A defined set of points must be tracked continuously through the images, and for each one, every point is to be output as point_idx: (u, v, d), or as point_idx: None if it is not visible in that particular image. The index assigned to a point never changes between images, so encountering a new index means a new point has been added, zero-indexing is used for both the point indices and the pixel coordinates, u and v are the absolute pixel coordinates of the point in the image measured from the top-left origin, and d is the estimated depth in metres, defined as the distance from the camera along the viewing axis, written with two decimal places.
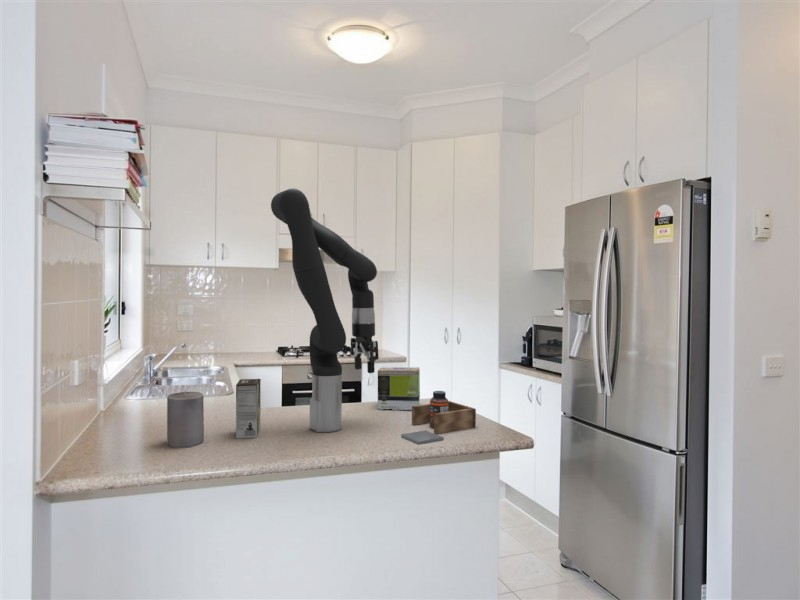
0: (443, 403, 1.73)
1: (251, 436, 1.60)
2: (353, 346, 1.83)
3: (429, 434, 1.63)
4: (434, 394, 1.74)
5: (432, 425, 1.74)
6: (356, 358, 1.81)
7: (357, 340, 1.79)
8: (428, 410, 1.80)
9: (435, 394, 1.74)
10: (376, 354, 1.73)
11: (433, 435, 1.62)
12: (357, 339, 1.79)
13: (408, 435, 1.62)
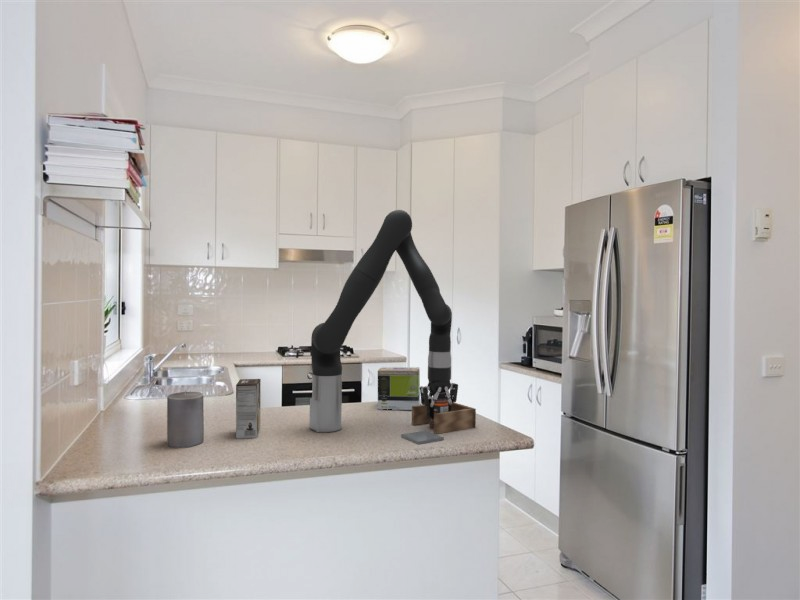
0: (443, 403, 1.73)
1: (251, 436, 1.60)
2: None
3: (429, 434, 1.63)
4: None
5: (432, 425, 1.74)
6: None
7: (435, 385, 1.73)
8: None
9: None
10: (451, 396, 1.79)
11: (433, 435, 1.62)
12: (435, 384, 1.73)
13: (408, 435, 1.62)
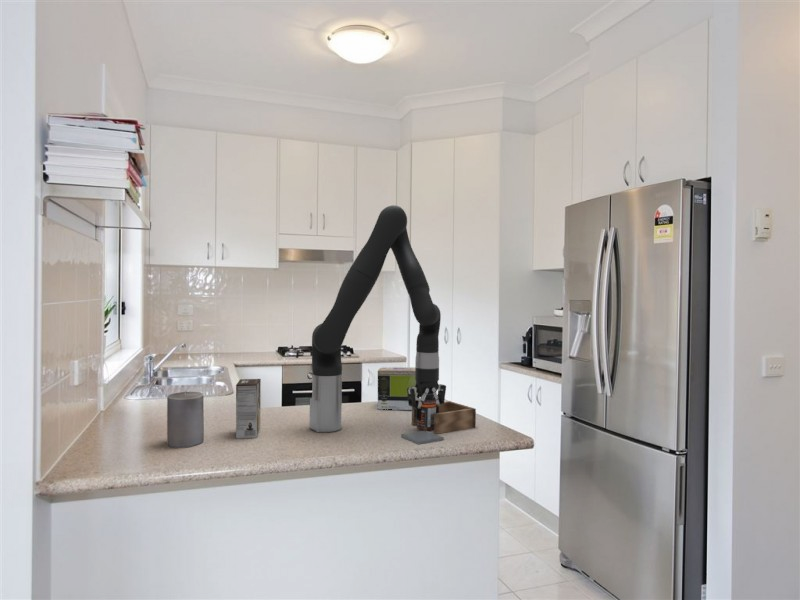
0: (430, 404, 1.70)
1: (251, 436, 1.60)
2: None
3: (429, 434, 1.63)
4: None
5: (419, 427, 1.71)
6: None
7: (422, 386, 1.71)
8: None
9: None
10: (439, 397, 1.77)
11: (433, 435, 1.62)
12: (422, 385, 1.71)
13: (408, 435, 1.62)
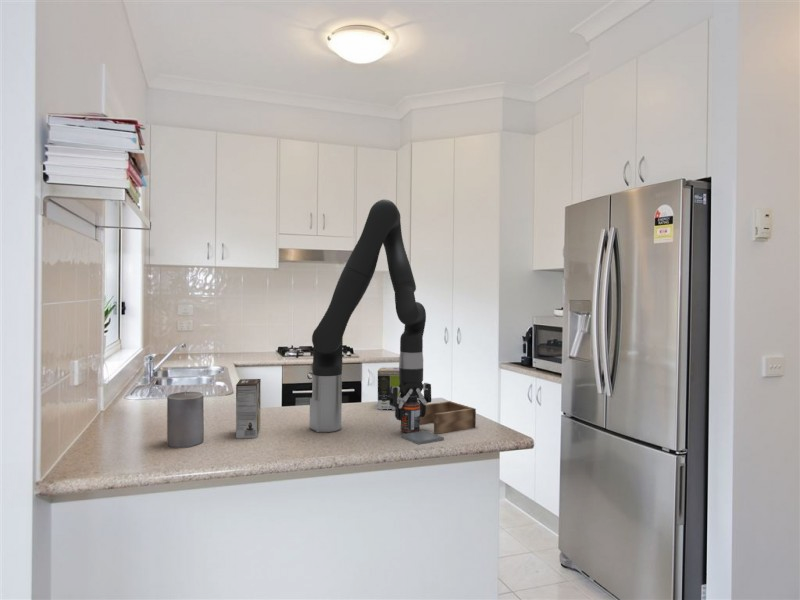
0: (414, 407, 1.67)
1: (251, 436, 1.60)
2: None
3: (429, 434, 1.63)
4: None
5: (403, 430, 1.68)
6: None
7: (406, 387, 1.67)
8: (428, 410, 1.80)
9: None
10: (426, 396, 1.74)
11: (433, 435, 1.62)
12: (406, 386, 1.67)
13: (408, 435, 1.62)
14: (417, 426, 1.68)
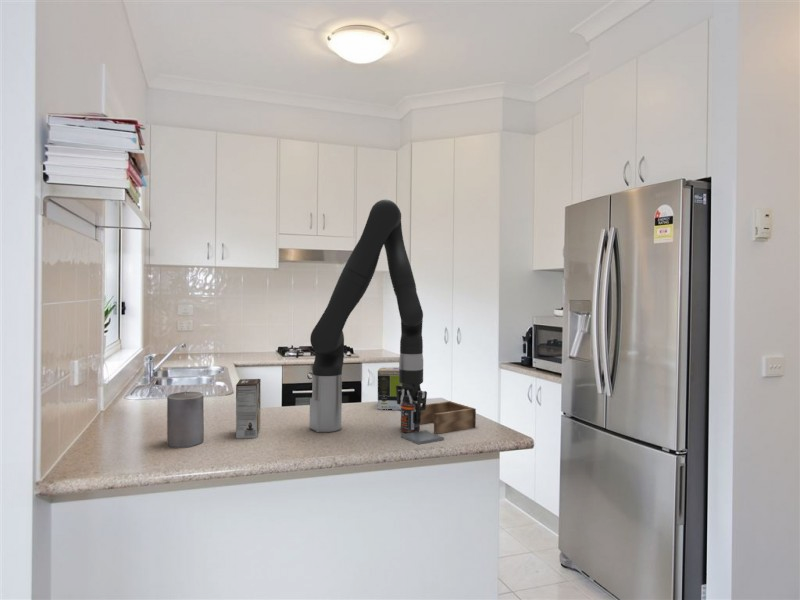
0: None
1: (251, 436, 1.60)
2: None
3: (429, 434, 1.63)
4: (405, 397, 1.68)
5: (403, 430, 1.68)
6: None
7: None
8: (428, 410, 1.80)
9: (406, 397, 1.68)
10: None
11: (433, 435, 1.62)
12: None
13: (408, 435, 1.62)
14: (417, 426, 1.68)
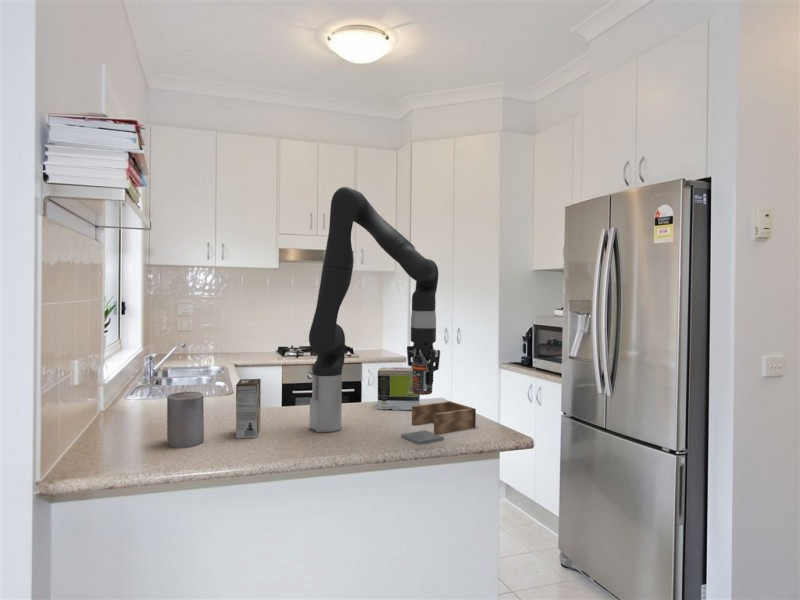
0: None
1: (251, 436, 1.60)
2: None
3: (429, 434, 1.63)
4: (417, 357, 1.60)
5: (415, 391, 1.59)
6: None
7: None
8: (428, 410, 1.80)
9: (418, 357, 1.60)
10: None
11: (433, 435, 1.62)
12: None
13: (408, 435, 1.62)
14: (430, 387, 1.59)
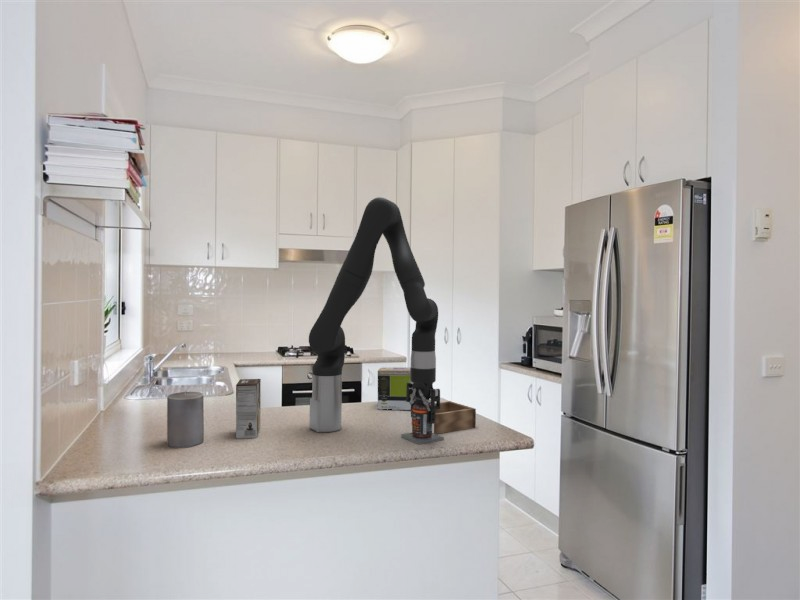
0: (426, 410, 1.59)
1: (251, 436, 1.60)
2: None
3: None
4: (417, 400, 1.60)
5: (415, 434, 1.60)
6: None
7: None
8: None
9: (418, 400, 1.60)
10: None
11: (433, 435, 1.62)
12: None
13: (408, 435, 1.62)
14: (429, 430, 1.60)
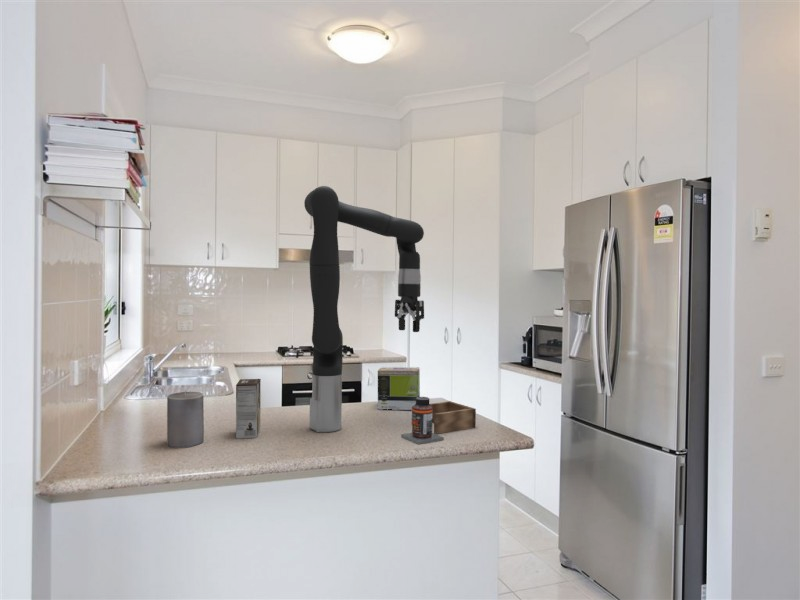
0: (426, 410, 1.58)
1: (251, 436, 1.60)
2: None
3: None
4: (417, 400, 1.60)
5: (415, 434, 1.60)
6: None
7: None
8: None
9: (418, 400, 1.60)
10: None
11: (433, 435, 1.62)
12: None
13: (408, 435, 1.62)
14: (429, 430, 1.60)
